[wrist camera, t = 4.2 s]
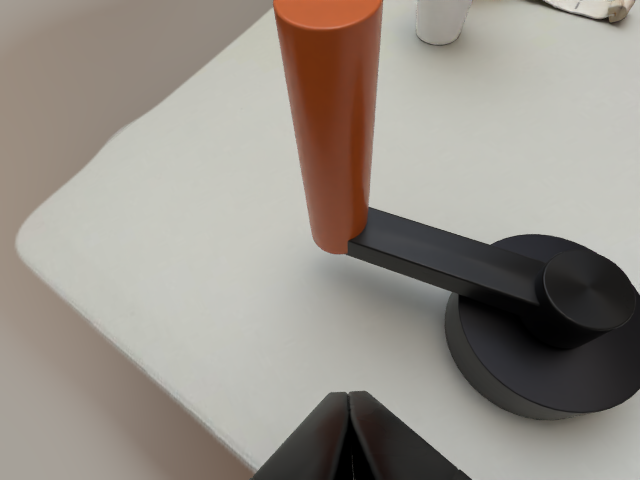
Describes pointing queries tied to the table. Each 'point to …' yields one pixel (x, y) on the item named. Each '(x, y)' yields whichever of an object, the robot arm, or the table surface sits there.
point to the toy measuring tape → (595, 8)
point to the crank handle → (400, 233)
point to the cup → (440, 20)
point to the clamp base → (541, 353)
